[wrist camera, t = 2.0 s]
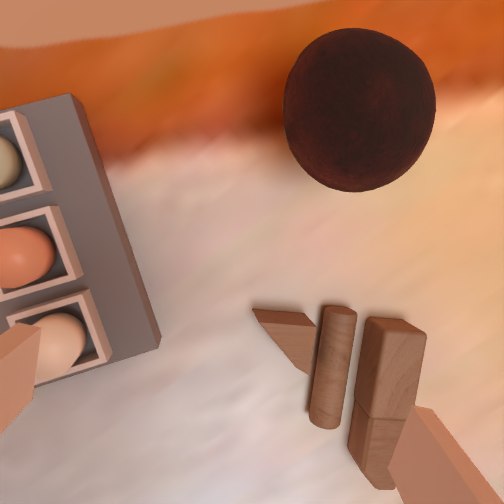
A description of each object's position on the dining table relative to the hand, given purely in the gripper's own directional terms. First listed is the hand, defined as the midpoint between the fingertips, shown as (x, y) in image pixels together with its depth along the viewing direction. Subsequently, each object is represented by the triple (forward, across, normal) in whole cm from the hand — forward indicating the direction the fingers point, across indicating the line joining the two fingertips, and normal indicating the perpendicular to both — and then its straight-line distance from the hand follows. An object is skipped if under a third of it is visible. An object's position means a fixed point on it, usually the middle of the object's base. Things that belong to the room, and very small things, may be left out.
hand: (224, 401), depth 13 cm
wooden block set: (+25, -12, +13) cm, 30 cm away
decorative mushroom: (+27, -5, -12) cm, 30 cm away
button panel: (+23, +17, +4) cm, 29 cm away
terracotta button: (+18, +17, +3) cm, 25 cm away
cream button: (+18, +13, +10) cm, 24 cm away
